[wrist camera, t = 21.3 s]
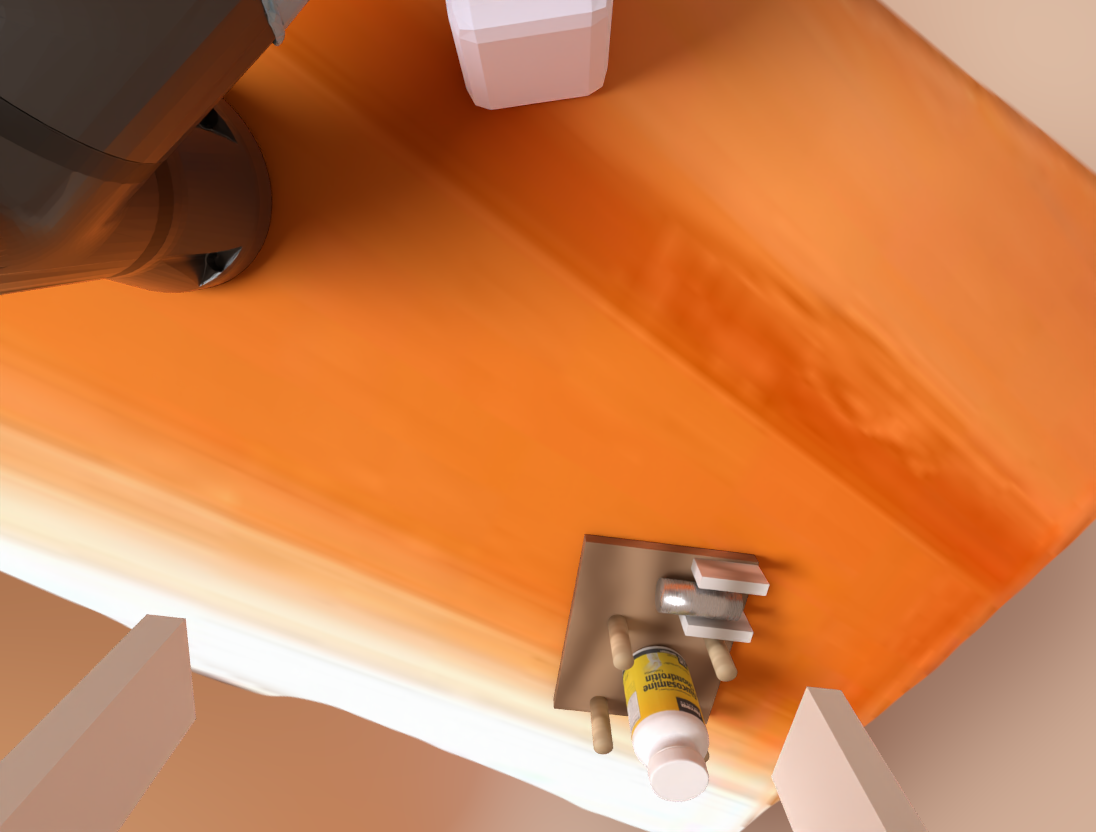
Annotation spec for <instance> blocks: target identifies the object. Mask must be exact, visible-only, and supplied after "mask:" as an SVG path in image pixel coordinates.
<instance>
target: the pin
mask: <svg viewBox="0 0 1096 832" xmlns="http://www.w3.org/2000/svg"><path fill="white" fill-rule="evenodd" d="M655 604H656V609H657V611H658V612H659V613H667V614H675V615H684V616H693V617H702V618H710V619H719V620H728V621H738V620H739V619H740V617H741V614H742V609H743V600H742V594H741V593H737V592H728V591H720V590H711V589H703V588H699V587H698V585H697V583H696V582H693V581H685V580H676V579H668V578H659V579H658V582H657V585H656V591H655Z"/></svg>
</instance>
